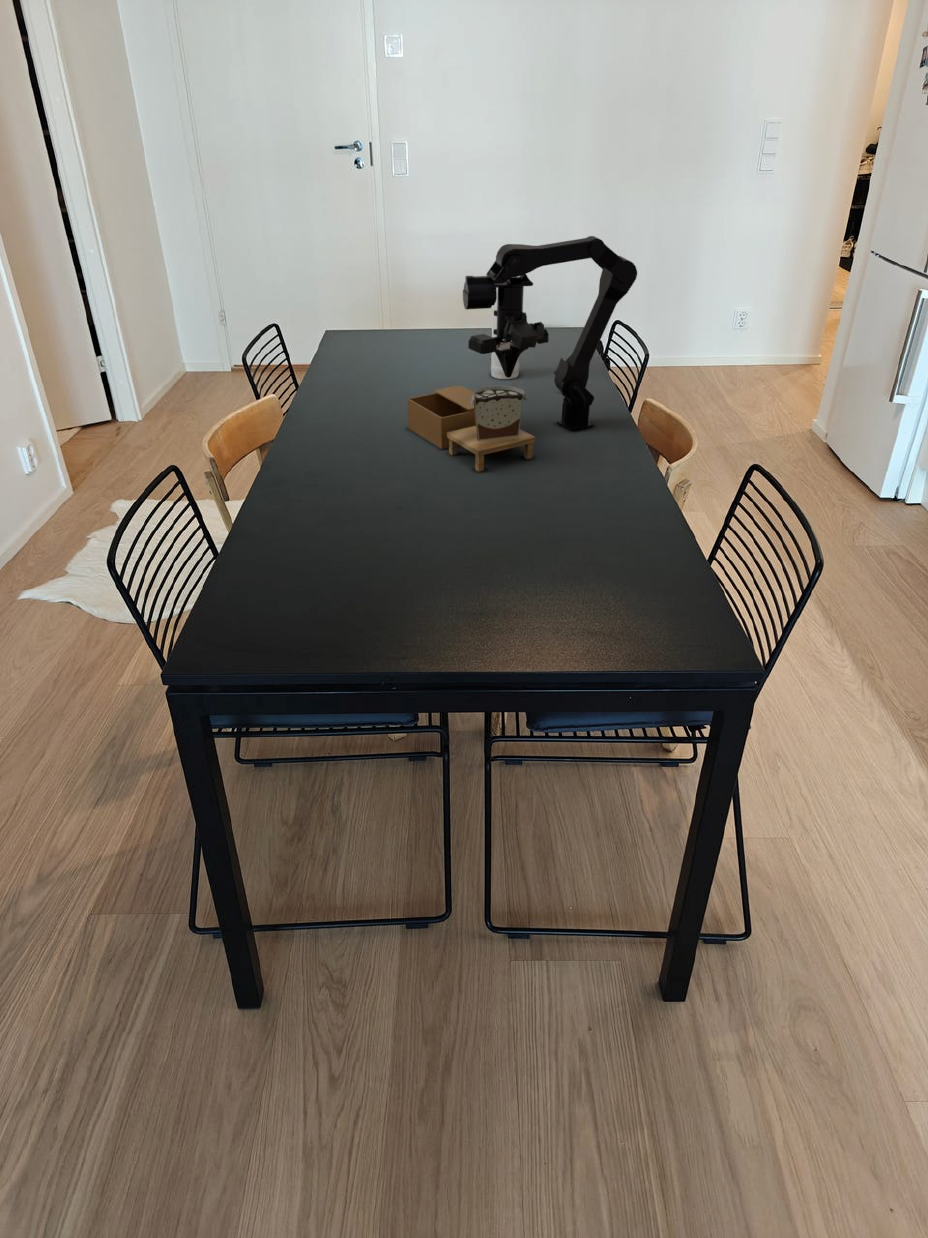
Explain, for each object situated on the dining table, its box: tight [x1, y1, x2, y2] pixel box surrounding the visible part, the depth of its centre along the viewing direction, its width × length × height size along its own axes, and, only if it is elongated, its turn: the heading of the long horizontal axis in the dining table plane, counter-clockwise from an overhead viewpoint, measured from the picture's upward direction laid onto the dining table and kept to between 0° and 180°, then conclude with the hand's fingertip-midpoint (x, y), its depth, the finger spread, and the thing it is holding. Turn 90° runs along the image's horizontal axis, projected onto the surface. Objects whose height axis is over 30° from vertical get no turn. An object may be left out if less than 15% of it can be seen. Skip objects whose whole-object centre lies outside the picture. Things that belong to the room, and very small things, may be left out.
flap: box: [434, 384, 475, 411], centre depth 198 cm, size 7×16×1 cm, turn 32°
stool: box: [447, 426, 536, 473], centre depth 187 cm, size 13×15×5 cm
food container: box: [471, 385, 527, 441], centre depth 183 cm, size 12×6×10 cm, turn 107°
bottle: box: [490, 292, 520, 380], centre depth 229 cm, size 8×8×30 cm
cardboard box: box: [406, 392, 476, 450], centre depth 198 cm, size 15×16×7 cm
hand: (508, 376), depth 194 cm, fingers closed
